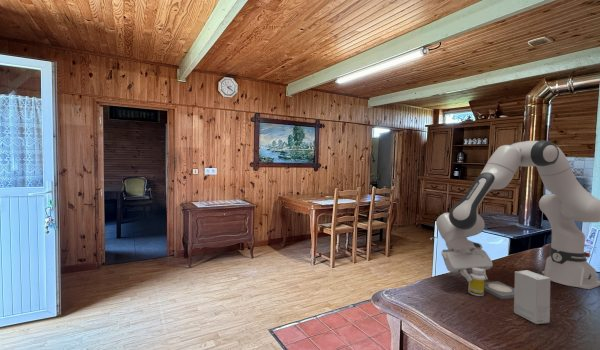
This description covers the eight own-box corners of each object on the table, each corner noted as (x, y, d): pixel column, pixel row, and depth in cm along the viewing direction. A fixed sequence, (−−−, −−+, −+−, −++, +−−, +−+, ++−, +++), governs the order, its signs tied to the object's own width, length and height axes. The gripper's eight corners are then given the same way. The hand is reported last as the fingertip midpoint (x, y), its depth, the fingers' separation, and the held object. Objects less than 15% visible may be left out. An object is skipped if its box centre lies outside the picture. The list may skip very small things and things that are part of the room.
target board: (497, 283, 129) (498, 280, 129) (525, 296, 118) (525, 292, 118) (475, 286, 126) (475, 282, 126) (501, 299, 115) (501, 295, 115)
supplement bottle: (486, 297, 116) (488, 272, 115) (470, 295, 117) (472, 270, 116) (480, 291, 121) (482, 267, 120) (466, 289, 122) (467, 266, 121)
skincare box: (549, 323, 98) (553, 278, 97) (535, 325, 97) (538, 279, 96) (525, 310, 106) (528, 269, 105) (511, 311, 105) (514, 269, 104)
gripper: (443, 246, 122) (461, 279, 113) (484, 244, 127) (503, 275, 118) (435, 253, 126) (451, 285, 117) (474, 251, 132) (493, 282, 123)
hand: (478, 280), depth 118 cm, fingers closed on supplement bottle, 5 cm apart
